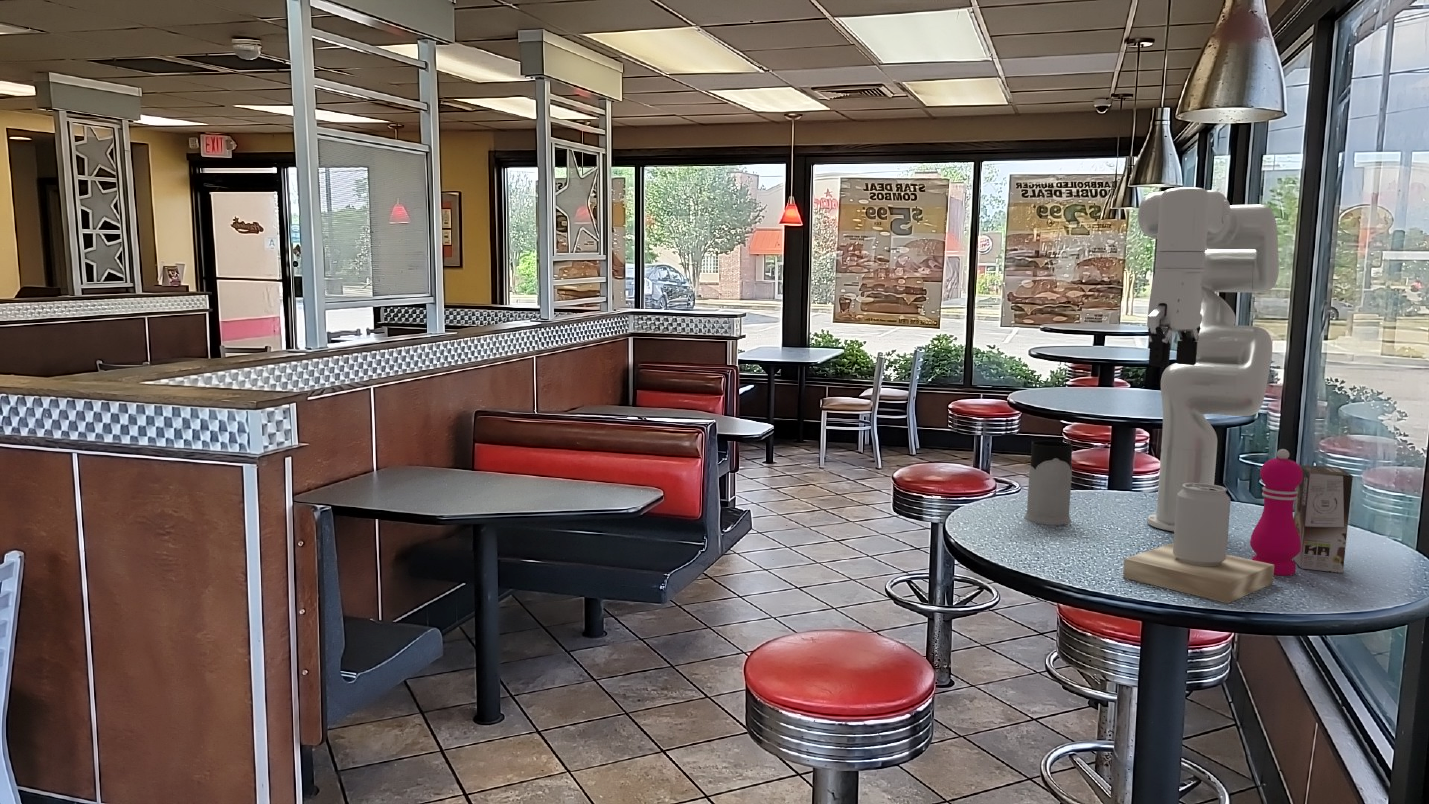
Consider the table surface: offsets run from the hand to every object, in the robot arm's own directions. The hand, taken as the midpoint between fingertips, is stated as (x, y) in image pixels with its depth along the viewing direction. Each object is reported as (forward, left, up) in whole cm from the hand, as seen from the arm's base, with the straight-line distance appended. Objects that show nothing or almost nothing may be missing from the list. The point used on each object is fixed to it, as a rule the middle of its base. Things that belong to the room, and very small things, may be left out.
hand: (1172, 365), depth 170 cm
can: (+12, +12, -30) cm, 34 cm away
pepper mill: (-4, +17, -32) cm, 37 cm away
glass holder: (-8, -27, -32) cm, 43 cm away
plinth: (+12, +12, -32) cm, 36 cm away
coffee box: (-14, +20, -32) cm, 41 cm away
